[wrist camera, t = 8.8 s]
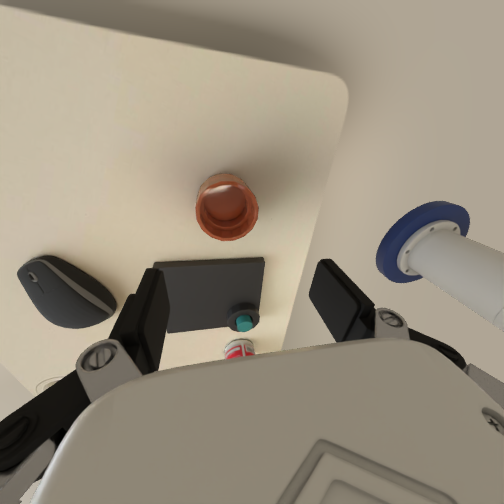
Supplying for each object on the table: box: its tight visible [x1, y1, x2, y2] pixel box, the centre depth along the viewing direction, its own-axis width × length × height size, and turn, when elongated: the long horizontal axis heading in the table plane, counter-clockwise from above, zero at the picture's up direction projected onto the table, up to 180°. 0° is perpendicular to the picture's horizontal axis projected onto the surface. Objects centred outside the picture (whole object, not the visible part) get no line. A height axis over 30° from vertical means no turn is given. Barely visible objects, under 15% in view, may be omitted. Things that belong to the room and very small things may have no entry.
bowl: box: [196, 174, 259, 241], centre depth 24 cm, size 7×7×5 cm
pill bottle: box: [225, 340, 255, 359], centre depth 38 cm, size 6×6×11 cm
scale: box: [153, 257, 265, 333], centre depth 32 cm, size 16×14×3 cm
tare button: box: [236, 315, 253, 332], centre depth 34 cm, size 3×3×2 cm
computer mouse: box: [17, 256, 116, 329], centre depth 26 cm, size 7×12×4 cm, turn 23°
